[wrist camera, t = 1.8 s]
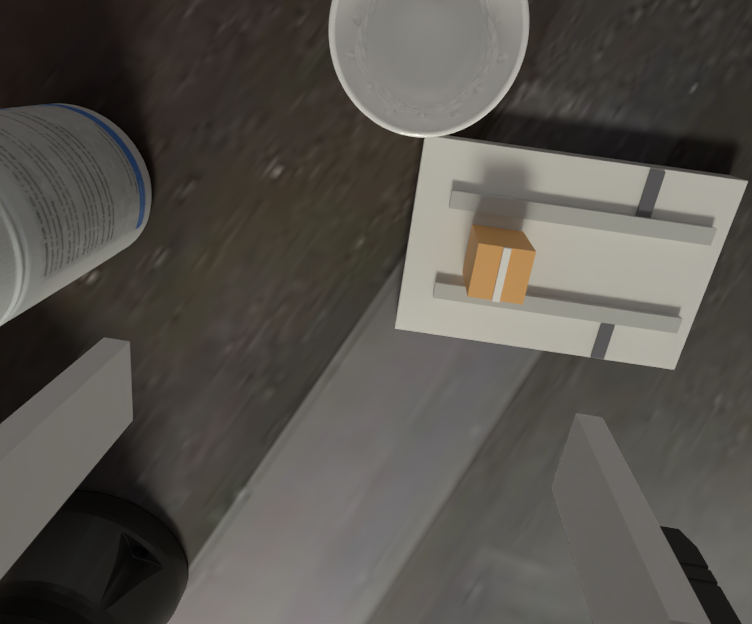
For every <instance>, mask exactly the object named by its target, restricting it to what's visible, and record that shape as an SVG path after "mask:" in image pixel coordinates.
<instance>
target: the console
mask: <svg viewBox="0 0 752 624" xmlns="http://www.w3.org/2000/svg"><path fill="white" fill-rule="evenodd" d="M747 183H748V181H746V180H743V179H740V178H737V177H734V176H731V175H725V174H718V173H711V172H704V171H697V170H690V169H683V168H675V167H668V166H661V165H654V164H647V163H640V162H633V161H626V160H619V159H612V158H605V157H598V156H591V155H584V154H577V153H569V152H562V151H555V150H548V149H541V148H534V147H527V146H520V145H513V144H506V143H499V142H492V141H485V140H478V139H471V138H463V137H456V136H449V135H444V136H438V137H424V141H423V147H422V154H421V160H420V167H419V173H418V180H417V186H416V192H415V199H414V205H413V212H412V218H411V224H410V231H409V237H408V244H407V250H406V256H405V263H404V269H403V276H402V282H401V288H400V295H399V301H398V308H397V314H396V323H395V329H402V330H409V331H416V332H422V333H429V334H436V335H443V336H449V337H456V338H463V339H470V340H477V341H483V342H490V343H497V344H504V345H510V346H517V347H524V348H531V349H538V350H544V351H551V352H558V353H565V354H571V355H578V356H585V357H592V358H598V359H605V360H612V361H619V362H626V363H632V364H639V365H646V366H653V367H659V368H666V369H673V370H674V369H675V366H676V364H677V361H678V359H679V356H680V354H681V351H682V349H683V346H684V344H685V341H686V338H687V336H688V333H689V331H690V328H691V326H692V323H693V321H694V318H695V315H696V313H697V310H698V308H699V305H700V303H701V300H702V298H703V295H704V293H705V290H706V287H707V285H708V282H709V280H710V277H711V275H712V272H713V270H714V267H715V264H716V262H717V259H718V257H719V254H720V252H721V249H722V247H723V244H724V242H725V239H726V236H727V234H728V231H729V229H730V226H731V224H732V221H733V219H734V216H735V213H736V211H737V208H738V206H739V203H740V201H741V198H742V196H743V193H744V191H745V188H746V185H747ZM472 224H474V225H481V226H488V227H495V228H502V229H509V230H516V231H523V232H524V234H525V235H526V237H527V238H528V240H529V241H530V243H531V244H532V246H533V247H534V249H535V251H536V254H535V258H534V262H533V266H532V270H531V274H530V278H529V282H528V286H527V290H526V294H525V298H524V302H523V305H522V304H515V303H508V302H501V301H500V302H492V300H488V299H481V298H474V297H467V292H466V287H465V282H464V277H463V273H462V272H463V267H464V262H465V257H466V252H467V247H468V242H469V237H470V232H471V227H472Z"/></svg>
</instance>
